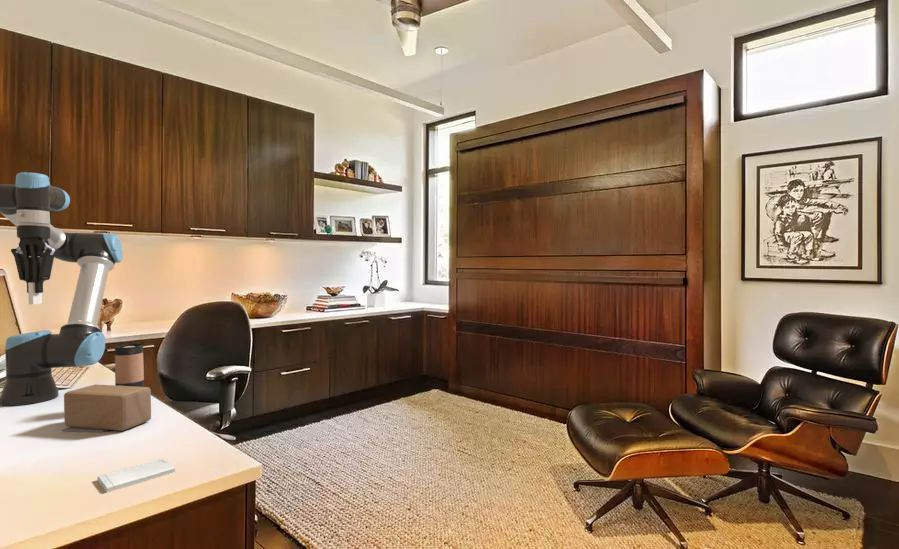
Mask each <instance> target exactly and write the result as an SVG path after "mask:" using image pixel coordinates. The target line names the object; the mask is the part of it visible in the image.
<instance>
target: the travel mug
mask: <svg viewBox="0 0 899 549" xmlns="http://www.w3.org/2000/svg"><path fill="white" fill-rule="evenodd" d="M144 369H145V368H144V344H143V343H142V344H141V343H129V344H121V345H117V346H116V347H114V376H115V377H114V378H115V379H114V381H115V382H114V383H115V386H135V387H145V386H144V385H145V374H144V372H145V371H144Z"/></svg>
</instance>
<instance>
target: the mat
mask: <svg viewBox="0 0 899 549" xmlns="http://www.w3.org/2000/svg"><path fill="white" fill-rule="evenodd" d="M106 430H107V429H93V428H79V427H66V428H63V429H62V430H61V432H74V431H75V432H78V433H80V432H81V433H82V432H83V433H85V432H86V433H104V432H106ZM107 431H108V430H107Z"/></svg>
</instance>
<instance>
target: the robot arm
mask: <svg viewBox="0 0 899 549" xmlns="http://www.w3.org/2000/svg"><path fill="white" fill-rule="evenodd" d="M70 203H71V197H70V195H69V194H68V193H67V192H66V190H64V189H62V188H60V187H57V186H53V185H51V183H50V178H49V176H48V175H47V174H43V173H38V172H27V171H26V172H25V171H24V172H19V173H16V175H15V183H14V184H12V183H11V184H9V183H8V184H7V183H6V184H4V183H0V214H1V215H2V216H4V218H6V219H7V220H8V221H9V222H11V223H12V224H13V225H14V226H15V227H16V237H17V238H18V239H19V243H18V246H17V247H15V248H11V249H10V251H11V254H12V256H13V257H14V261H15V266H16V269H17V274H18V277H19V281H23V282H25V283H26V293H27V294H28V297H27V298H28V305H42V304H43V303H42V302H43V297H42V296H43V295H42V293H43V292H44V282H45V281H49V280H50V279H51V274H52V270H53V264H54V259H56V260H59V261H62V262H67V263H76V264H77V265H78V266H79V267H80V270H79V273H78V278H77V281H76V282H77V283H76V287H75V289H74V294H73V297H72V298H73V300H72V302H71V307H70V312H69V315H68V320H67V323H65V324H63V325H61V327H60V329H59V333H55V334H54V333H52V331H51V330H49V329H45V330H44V329H43V330H37V331H30V332H25V333H19V334H14V335H10V336H8V337H7V338H6V339H5V348H4V352H5V353H4V355H5V383H4V386H3V387H2V391H1V394H0V404H2V405H1V406H5V405H14V406H23V405H24V404H25V405H31V403H32V404H36V403H37V404H38V403H43V402H45V401H50V400H53V399H56V398H58V397H59V388H58V387H57V385H56V382H55V379H54V377H53V374H52V368H53V369H54V368H55V369H56V368H58V369H59V368H74V367H75V368H76V367H77V368H80V367H86V366H93V365H95V364H97V363H98V362H99V361H100V360H101V358H102V357H103V355H104V353H105V349H106V336H105V334H104V333H103V332H102V330H101V328H100V327H99V326H98V322H99V318H100V312H101V308H102V304H103V299H104V294H105V289H106V285H107V279H108V275H109V272H110V271H112V270H113V269H114V268H115V265H116V264H118V263H121V262H122V261H123V258H124V257H123V256H124V253H123V252H124V251H123V246H122V242H121V239H120V238H119V236H118V235H117V234H115V233H110V232H109V233H106V232H102V233H101V232H99V233H98V232H66V231H63V230H62V229H60V228H58V227H54V225H52V224H51V215H50V214H51V213H50V212H52V211H53V212H54V211H55V212H60V211H63V210H65V209H67V208H68V207H69V205H70Z"/></svg>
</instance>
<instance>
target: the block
mask: <svg viewBox="0 0 899 549" xmlns="http://www.w3.org/2000/svg"><path fill="white" fill-rule="evenodd" d="M151 393H152V391H151V388H150V387H148V386H144V387H135V386H115V385H114V384H113V385H112V384H92V385H87V386H84V387H81V388H77V389H76V388H75V389H73V390H69V391H66V392H65V393H64V394H63V406H64V407H63V409H64V410H63V411H64V412H63V413H64V426H65V427H66V428H69V427H79V428H93V429H107V431H108V430H110V431H123V432H124V431H126V430H128V429H132V428H133V427H135V426H138V425H141V424H143V423H144V424H145V423H146V422H148V421H150V420H151V419H152V394H151Z"/></svg>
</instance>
